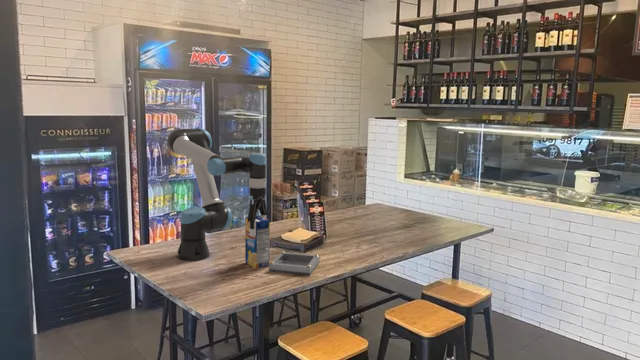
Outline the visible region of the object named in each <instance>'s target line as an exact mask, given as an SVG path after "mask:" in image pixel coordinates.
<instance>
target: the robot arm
mask: <svg viewBox="0 0 640 360" xmlns="http://www.w3.org/2000/svg"><path fill="white" fill-rule="evenodd" d="M166 143H167V147H168V148H169V150H170V151H172V152H173V153H175V154H176V155H178V156H184V157H186V158H188V159H189V160H191V162H192V167H193V171H194V175H195V178H196V181H197V182H196V183H197V187H198V190H199V194H200V198H201V201H202V202H201V203H202V205H200V206H195V207H189V208H186V209H184V210H182V211H181V213H180V218H179V221H180V222H179V223H180V243H179V247H178V249H177V254H176V255H177V259H180V260H182V261H189V262H190V261H191V262H192V261H199V260H205V259H207V258H208V257H209V258H210V249H209V247H208V244H207V241H206V233H211V232H216V231H222V230H225V229H227V228H229V226H230V224H231V222H232V219H233V214H232V211H231V210H232V209H230V208H229V206H227V205H225V203H224V201H223V200H221V199H220V195H219V191H218V188H217V185H216V181H215V177H214V176H218V177H219V176H223V175H231V174H232V175H234V174H239V173H246V174H249V176H248V177H249V178H248V181H249V183H248V186H249V196H251V197H252V199H250V200H249V210H248V215H247V217H248V220H247V221H248V222H250V236H256V222H255V219H256V216H258V215H257V214H258V211H259V216H261V217H263V218H266V219H267V217H266V216H268V209H267V202H266V194H267V188H266V187H267V181H268V180H267V159H266V158H267V157H266V154H264V153H261V152H260V153H259V152H256V153H255V152H253V153H250V154H249V155H248V156H244V155H235V156H233V157H232V156H231V157H230V156H228V157H222V156H220V155H218V154H216V153H214V152H212V151H211V150H210V149H211V148H212V146H213V145H212V144H213V140H212V136H211V134H210V132H209V131H207V130H206V129H204V128H197V127H196V128H177V129H174V130H173V131H171V132H169V134H168V136H167V139H166Z"/></svg>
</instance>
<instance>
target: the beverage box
mask: <svg viewBox="0 0 640 360" xmlns="http://www.w3.org/2000/svg"><path fill="white" fill-rule="evenodd" d="M247 220H248V216H245V227H244V230H245V237H244V239H245V241H244V242H245V246H244V247H245V249H244V251H245V253H244V254H245V256H244V258H245V263H246V264H248V265H249V266H250V267H252V268H254V269H257V270H258V269H261V268H262V269H263V268H267V267H268V268H269V264H270V246H271V245H270V241H271V240H270V239H271V238H270V233H271V232H270V230H271V228H270V227H271V226H270V224H271V223H270V221H271V220H270V219H268V218H267V217H266V218H263V217H261V216H260V215H256V219H255V222H256V236H250V222H248V221H247Z"/></svg>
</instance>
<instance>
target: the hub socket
mask: <svg viewBox="0 0 640 360" xmlns="http://www.w3.org/2000/svg"><path fill="white" fill-rule="evenodd" d="M319 264H320V254H318V253H316V254H310V253H309V254H307V253H298V252H296V253H294V252H285V251H283V250H282V251H280V253H279V254H277V255H276V257H275V258H274V259H272V260H271V261H269V266H268V268H269V269H268V271H269V272H271V273H283V274H292V275H293V274H294V275H303V276H311V275H312V274H313V272H314V271H315V269H316V268H317V267H318V265H319Z"/></svg>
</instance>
